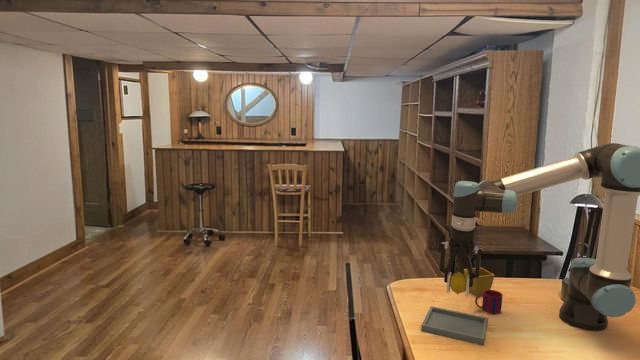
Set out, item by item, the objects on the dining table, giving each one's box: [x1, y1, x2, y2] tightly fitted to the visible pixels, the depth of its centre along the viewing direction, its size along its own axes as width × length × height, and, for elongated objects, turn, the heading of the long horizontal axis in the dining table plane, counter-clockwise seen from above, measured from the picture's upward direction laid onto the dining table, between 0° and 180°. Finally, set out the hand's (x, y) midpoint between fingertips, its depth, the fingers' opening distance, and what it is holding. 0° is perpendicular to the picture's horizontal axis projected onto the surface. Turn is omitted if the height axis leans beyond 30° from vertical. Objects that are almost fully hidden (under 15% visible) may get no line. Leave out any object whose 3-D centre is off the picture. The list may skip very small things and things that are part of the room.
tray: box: [420, 305, 489, 346], centre depth 156 cm, size 20×16×2 cm
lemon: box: [450, 271, 467, 295], centre depth 153 cm, size 6×6×8 cm
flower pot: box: [463, 267, 495, 296], centre depth 184 cm, size 9×9×9 cm
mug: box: [474, 289, 504, 315], centre depth 169 cm, size 7×10×7 cm
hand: (457, 293), depth 154 cm, fingers closed on lemon, 5 cm apart
